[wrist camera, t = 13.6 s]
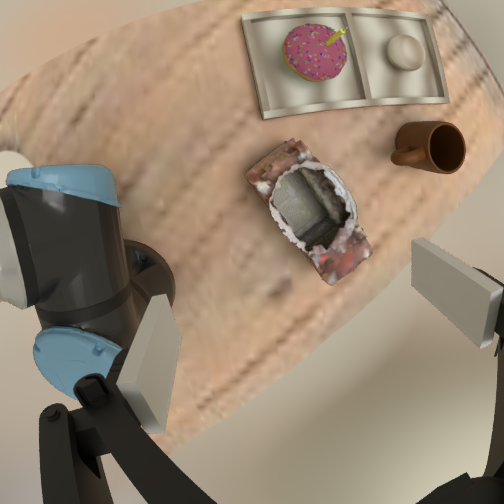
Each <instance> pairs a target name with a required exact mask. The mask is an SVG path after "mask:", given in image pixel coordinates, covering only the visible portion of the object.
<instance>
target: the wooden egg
mask: <svg viewBox="0 0 504 504" xmlns="http://www.w3.org/2000/svg"><path fill="white" fill-rule="evenodd" d="M387 55H388V58H389V60H390V61H391V63H392V64H393V65H394V66H395V67H397V68H398V69H400V70H403V71H408V72H410V71H415V70H418V69H419V68H420V67H421V66H422V65H423V64H424V61H425V50H424V48H423V46H422V44H421V43H420V42H419V41H418V40H417V39H415V38H414V37H412V36H409V35H397V36H395V37H393V38H392V39H391V40H390V41H389V43H388V46H387Z"/></svg>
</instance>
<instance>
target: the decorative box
mask: <svg viewBox="0 0 504 504" xmlns="http://www.w3.org/2000/svg"><path fill="white" fill-rule="evenodd" d="M245 178H246V179H247V180H248V182H249V183H250V184H251V185H252V187H253V188H254V189H255V190H256V192H257V193H258V194H259V195H260V197H261V198H262V199H263V201H264V202H265V203H266V205H267V206H268V207H269V208H270V210H271V214H272V217H274V220H275V221H277V222H278V223H279V225H278V226H279V227H280V229H284V230H285V231H286V232H283V234H284V235H286V236H288V238H289V239H290V242H292V241H293V242H294V243H296V246H298V248H300V250H301V251H302V253H303V254H304V255H305V257H306V258H307V259H308V260H309V262H310V263H311V264H312V265H313V267H314V268H315V269H316V271H317V272H318V273H319V275H320V276H321V277H322V280H324V281H325V282H326V283H327V284H329V285H330V286H333V285H335V283H336V282H337V281H338V280H340V279H341V278H342V277H344V276H345V275H347V274H349V273H350V272H352V271H354V269H355V268H356V267H357V266H358V265H359V264H360V263H361V262H362V261H364V260H366V259H367V258H369V257H370V256H371V255H372V253H373V250H372V248H371V246H370V244H369V243H368V241H367V240H366V239H365V238H366V237H367V236H366V234H365V233H364V231H363V228H361V227H360V225H359V224H358V222H357V219H358V216H357V206H356V202H355V200H354V199H353V197H352V195H351V192H350V191H349V190H348V189H347V188H346V186H345V184H344V182H343V180H342V179H341V178H340V177H339V175H337V174H336V173H335V171H334V170H332V169H330V167H329V166H326V165H323V164H321V163H320V161H319V160H318V159H317V158H316V157H313V156H312V154H311V152H310V150H309V148H308V147H307V146H306V145H305V144H304V143H303V142H301V140H299V141H298V142H297V143H296V142H295V140H294V139H293V138H292V139H291V140H289V141H288V142H287V141H285V142H284V144H283V145H281V146H280V147H278V148H277V149H276V150H274V151H273V152H271V153H270V154H269V155H267V156H266V157H265V158H263V159H262V160H261V161H260V162H258V163H257V164H256V165H255V166H254V167H253V168H249V171H248V172H246V173H245Z"/></svg>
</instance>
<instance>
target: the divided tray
mask: <svg viewBox="0 0 504 504" xmlns="http://www.w3.org/2000/svg"><path fill="white" fill-rule="evenodd" d="M307 23H308V24H309V23H310V24H314V23H316V24H321V25H327V27H331V29H333V30H334V29H335V30H334V31H336V32H338V31H339V30H340V29H345V28H346V27H348V28H347V29H346V30H345V33H344V34H343V35H342V36H341V37H342V40H343V42H344V43H345V45H346V50H347V63H346V64H345V65H344V67H343V68H342V70H341V72H340V73H339V75H338V76H336V77H335V78H333V79H329V80H325V81H321V82H311V81H307V80H305V79H303V78H302V77H301V76H299V75H297V74H296V73H294V72H293V71H292V70H291V69H290V68H289V67H288V66H287V65H286V64H285V62H284V59H283V53H282V45H283V43H284V40H285V38H286V36H287V35H288V34H289V32H290V31H291V30H292V29H294V28H295V27H298V26H302V25H304V24H307ZM241 24H242V28H243V32H244V36H245V41H246V45H247V49H248V54H249V58H250V63H251V67H252V72H253V76H254V81H255V86H256V90H257V95H258V100H259V104H260V109H261V114H262V119H263V120H266V119H272V118H278V117H285V116H291V115H298V114H305V113H313V112H320V111H329V110H338V109H348V108H359V107H372V106H387V105H409V104H447V103H450V100H449V94H448V89H447V83H446V79H445V74H444V69H443V65H442V60H441V56H440V52H439V48H438V45H437V41H436V37H435V34H434V30H433V27H432V23H431V20H430V17H429V15H427V14H421V13H413V12H405V11H396V10H386V9H372V8H346V7H324V8H298V9H284V10H273V11H263V12H255V13H247V14H241ZM397 35H409V36H412V37H414V38H415V39H417V40H418V41H419V42H420V43H421V44H422V46H423V48H424V50H425V61H424V64H423V65H422V66H421V67H420V68H419V69H418V70H415V71H410V72H408V71H403V70H400V69H398V68H397V67H395V66H394V65H393V64H392V63H391V61H390V60H389V58H388V55H387V46H388V43H389V41H390V40H391V39H392V38H393V37H395V36H397Z"/></svg>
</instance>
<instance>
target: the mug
mask: <svg viewBox="0 0 504 504" xmlns="http://www.w3.org/2000/svg"><path fill="white" fill-rule="evenodd" d="M396 146H397V151H395V152H393V153H392V155H391V161H392V162H393V163H394V164H395V165H399V166H403V165H409V166H410V167H413V168H417V169H422V170H426V171H430V172H435V173H441V174H451V173H454V172H456V171H457V170H458V169H459V168H460V167H461V166H462V164H463V162H464V159H465V153H466V147H465V141H464V138H463V136H462V134H461V132H460V131H459V129H458V128H457V127H456V126H454V125H453V124H451V123H448V122H442V121H422V122H411V123H408V124H406V125H404V126H403V127H402V128H401V129H400V131H399V133H398V135H397V141H396Z"/></svg>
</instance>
